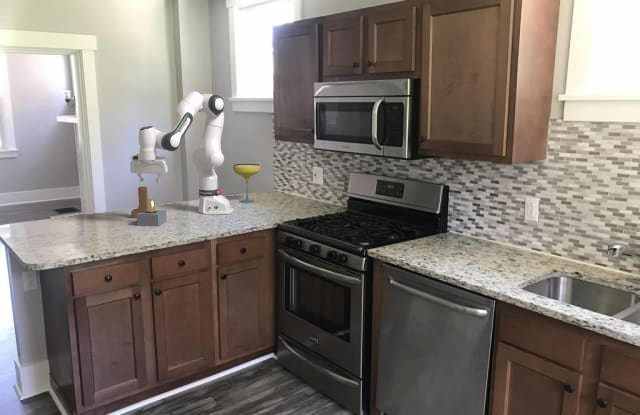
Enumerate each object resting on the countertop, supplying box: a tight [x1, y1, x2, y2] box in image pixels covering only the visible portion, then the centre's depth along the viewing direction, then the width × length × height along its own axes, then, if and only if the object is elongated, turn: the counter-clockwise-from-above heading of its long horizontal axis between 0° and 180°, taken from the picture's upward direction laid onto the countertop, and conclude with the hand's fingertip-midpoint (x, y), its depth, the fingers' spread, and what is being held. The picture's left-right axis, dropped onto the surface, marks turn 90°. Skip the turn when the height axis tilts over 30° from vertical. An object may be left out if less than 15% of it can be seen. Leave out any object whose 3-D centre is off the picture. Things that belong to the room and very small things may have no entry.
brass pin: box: [147, 198, 156, 213], centre depth 291 cm, size 4×4×12 cm
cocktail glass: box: [232, 163, 261, 204], centre depth 356 cm, size 18×18×25 cm
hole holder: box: [136, 209, 167, 227], centre depth 291 cm, size 12×12×6 cm
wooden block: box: [130, 186, 149, 219], centre depth 305 cm, size 9×4×18 cm, turn 99°
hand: (149, 181), depth 287 cm, fingers open, 8 cm apart
